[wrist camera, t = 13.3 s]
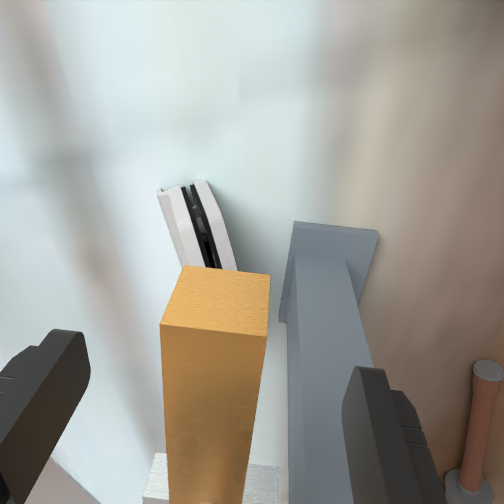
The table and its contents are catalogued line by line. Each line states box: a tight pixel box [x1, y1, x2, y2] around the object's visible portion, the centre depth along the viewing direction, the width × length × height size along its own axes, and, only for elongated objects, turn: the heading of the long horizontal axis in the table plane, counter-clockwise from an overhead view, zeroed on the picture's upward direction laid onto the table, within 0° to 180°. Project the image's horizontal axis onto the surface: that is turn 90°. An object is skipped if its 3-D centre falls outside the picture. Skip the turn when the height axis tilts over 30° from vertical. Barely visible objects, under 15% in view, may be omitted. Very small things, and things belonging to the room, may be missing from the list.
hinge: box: [156, 180, 238, 271], centre depth 36 cm, size 17×5×10 cm, turn 11°
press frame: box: [279, 221, 379, 504], centre depth 24 cm, size 15×12×36 cm
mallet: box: [445, 360, 504, 504], centre depth 50 cm, size 6×6×30 cm
